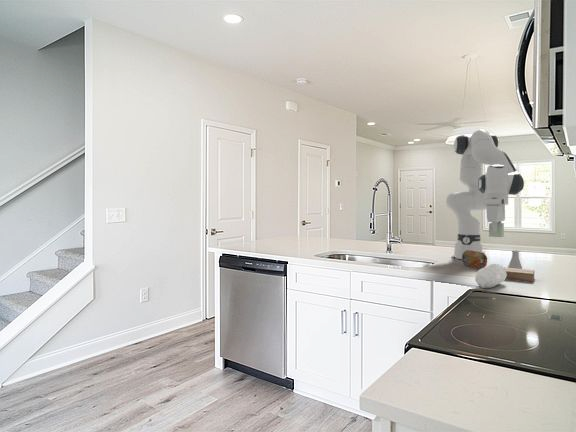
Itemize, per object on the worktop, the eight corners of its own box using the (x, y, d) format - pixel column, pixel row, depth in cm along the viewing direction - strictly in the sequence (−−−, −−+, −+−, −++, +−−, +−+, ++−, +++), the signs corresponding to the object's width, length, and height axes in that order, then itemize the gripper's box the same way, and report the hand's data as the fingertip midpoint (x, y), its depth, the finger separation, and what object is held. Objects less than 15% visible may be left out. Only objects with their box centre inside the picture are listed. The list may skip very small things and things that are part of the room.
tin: (461, 265, 199) (461, 249, 198) (466, 264, 200) (466, 248, 199) (482, 270, 184) (483, 253, 184) (488, 269, 185) (488, 252, 185)
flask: (526, 273, 176) (527, 252, 175) (509, 272, 177) (510, 251, 177) (520, 270, 183) (520, 249, 182) (503, 269, 184) (504, 249, 184)
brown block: (502, 276, 172) (503, 267, 171) (534, 279, 165) (534, 270, 164) (499, 279, 164) (499, 270, 163) (532, 283, 156) (532, 273, 156)
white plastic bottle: (469, 289, 145) (469, 269, 145) (485, 281, 159) (485, 262, 158) (491, 292, 140) (492, 271, 139) (506, 284, 153) (506, 265, 153)
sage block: (491, 235, 172) (491, 222, 172) (503, 236, 169) (503, 223, 169) (488, 236, 168) (489, 223, 168) (501, 237, 165) (501, 223, 165)
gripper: (493, 201, 178) (493, 230, 179) (483, 200, 163) (483, 232, 163) (508, 201, 174) (508, 230, 175) (500, 200, 159) (500, 233, 159)
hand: (496, 231), depth 169 cm, fingers closed on sage block, 5 cm apart
